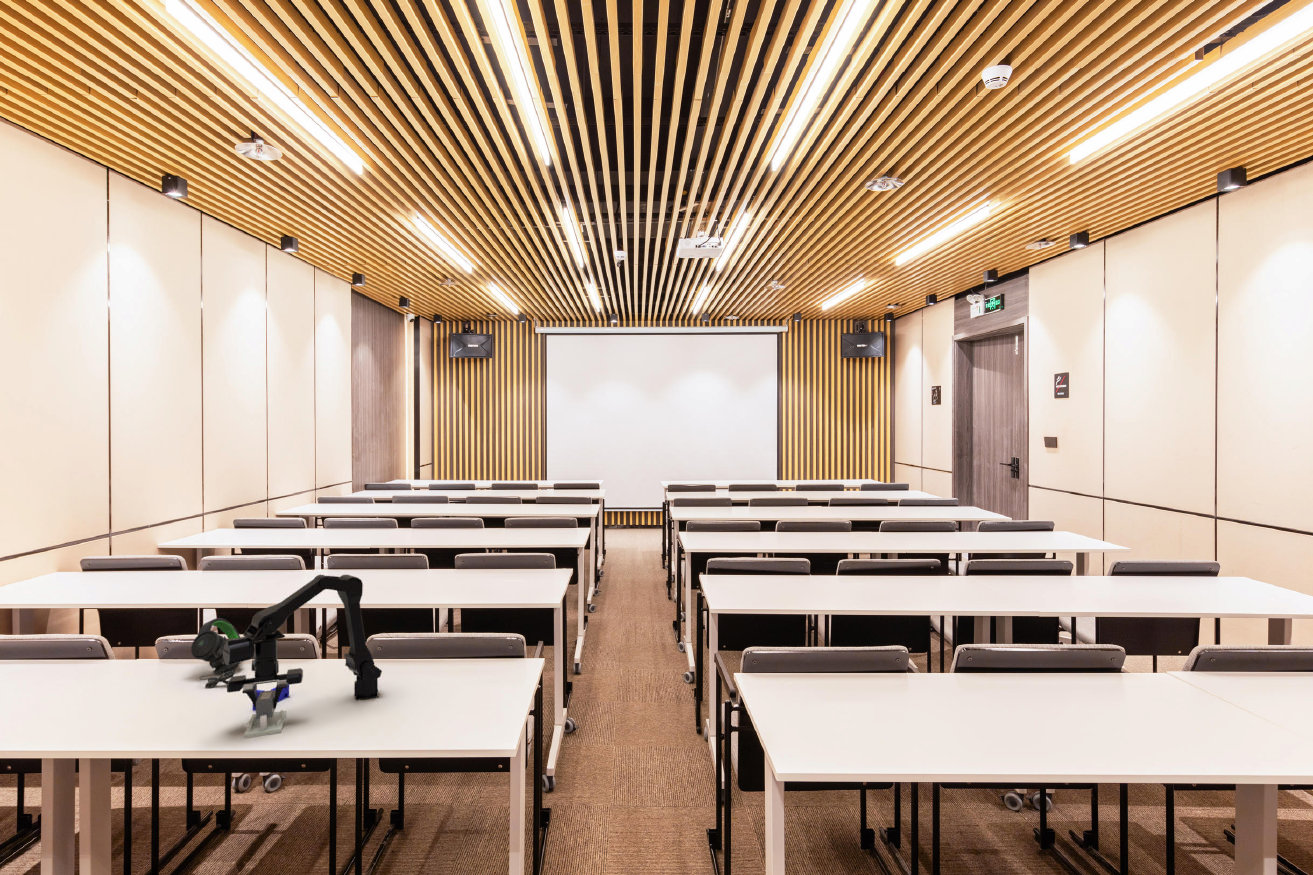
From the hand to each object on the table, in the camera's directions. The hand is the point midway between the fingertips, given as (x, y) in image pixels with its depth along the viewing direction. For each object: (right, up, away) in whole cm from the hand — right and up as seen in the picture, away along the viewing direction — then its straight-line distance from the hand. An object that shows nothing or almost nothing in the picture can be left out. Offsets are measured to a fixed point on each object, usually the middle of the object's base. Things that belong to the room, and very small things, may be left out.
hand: (266, 709), depth 200 cm
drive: (0, -1, 0) cm, 1 cm away
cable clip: (-8, -5, +16) cm, 19 cm away
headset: (-38, -4, +41) cm, 56 cm away
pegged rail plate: (0, -5, 0) cm, 5 cm away
